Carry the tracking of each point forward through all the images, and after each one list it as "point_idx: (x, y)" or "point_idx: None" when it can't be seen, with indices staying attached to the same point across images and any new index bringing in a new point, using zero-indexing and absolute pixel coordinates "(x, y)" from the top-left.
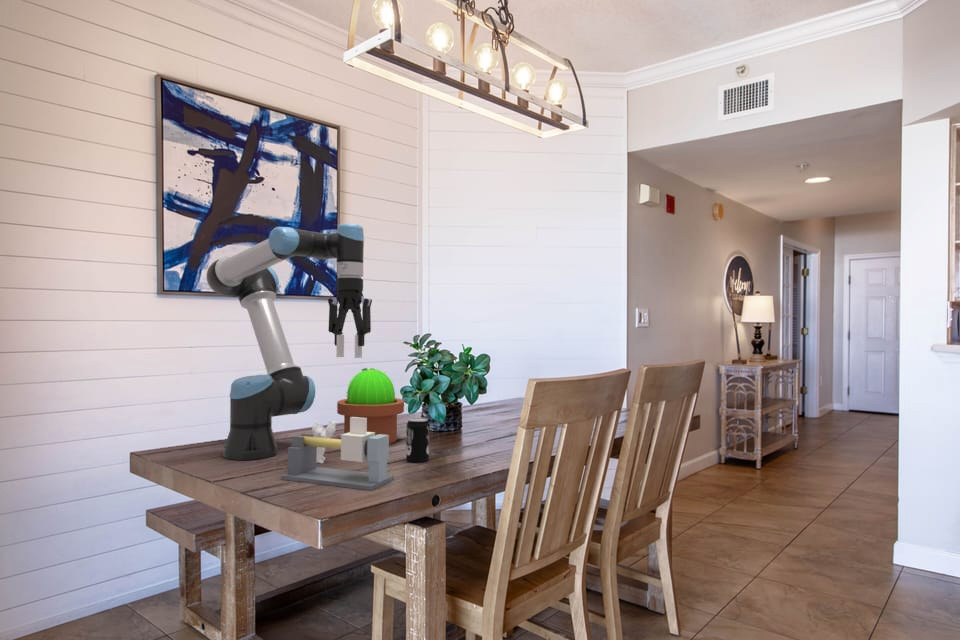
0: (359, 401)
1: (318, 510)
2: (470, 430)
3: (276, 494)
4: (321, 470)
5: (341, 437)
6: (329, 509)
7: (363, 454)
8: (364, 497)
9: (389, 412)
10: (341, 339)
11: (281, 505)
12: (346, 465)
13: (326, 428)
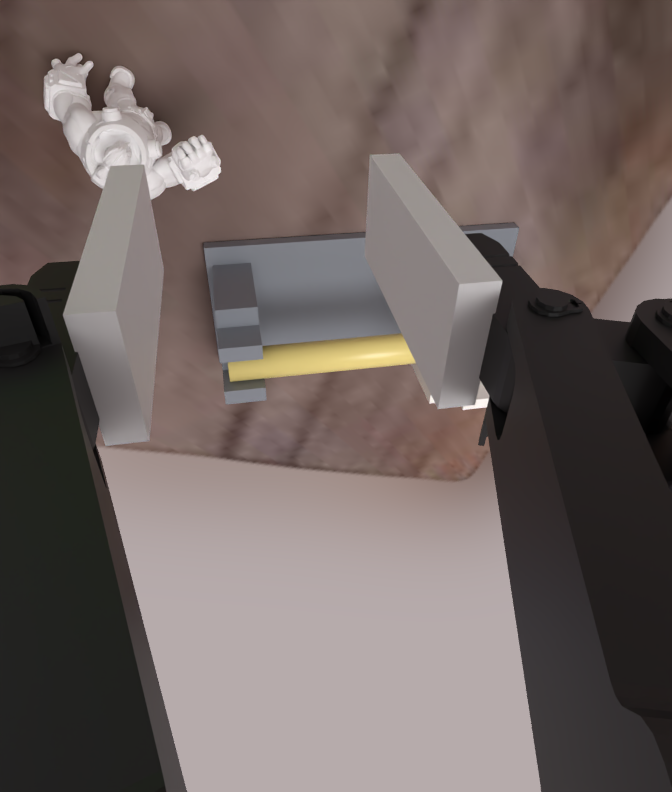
0: None
1: (441, 459)
2: None
3: (303, 436)
4: (282, 274)
5: (428, 397)
6: (458, 449)
7: None
8: None
9: None
10: (140, 336)
11: (361, 470)
12: (280, 126)
13: (188, 188)
